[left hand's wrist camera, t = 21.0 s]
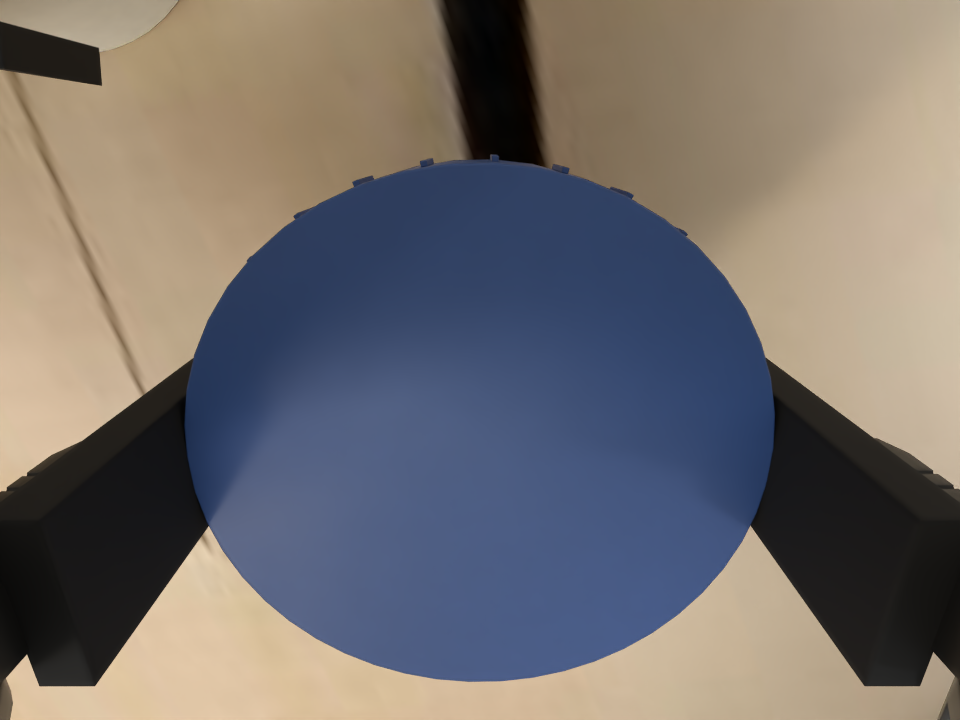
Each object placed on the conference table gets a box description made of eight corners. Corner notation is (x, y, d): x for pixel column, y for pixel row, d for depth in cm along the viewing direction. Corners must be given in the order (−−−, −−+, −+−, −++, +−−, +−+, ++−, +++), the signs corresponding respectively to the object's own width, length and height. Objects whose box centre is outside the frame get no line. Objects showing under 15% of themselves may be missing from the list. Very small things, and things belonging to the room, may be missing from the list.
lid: (113, 321, 11) (46, 353, 9) (619, 35, 9) (649, 10, 8) (390, 673, 14) (378, 744, 13) (798, 512, 13) (848, 570, 11)
